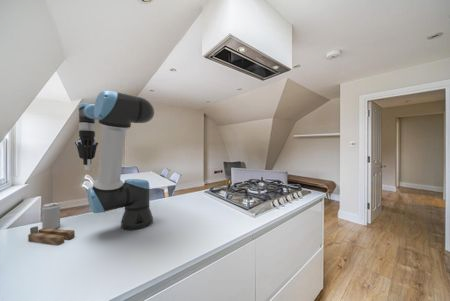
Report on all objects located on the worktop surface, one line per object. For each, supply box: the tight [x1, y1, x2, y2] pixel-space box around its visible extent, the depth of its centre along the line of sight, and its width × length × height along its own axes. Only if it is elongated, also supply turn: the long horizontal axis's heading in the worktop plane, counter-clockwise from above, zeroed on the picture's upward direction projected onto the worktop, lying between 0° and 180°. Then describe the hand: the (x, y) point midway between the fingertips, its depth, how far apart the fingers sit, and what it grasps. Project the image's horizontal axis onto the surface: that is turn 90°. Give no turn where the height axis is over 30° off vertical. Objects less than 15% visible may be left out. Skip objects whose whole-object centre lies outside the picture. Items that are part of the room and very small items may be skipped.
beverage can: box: [41, 202, 61, 229], centre depth 89 cm, size 6×6×12 cm
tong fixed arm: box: [27, 225, 65, 246], centre depth 77 cm, size 19×4×4 cm, turn 79°
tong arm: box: [38, 228, 76, 240], centre depth 80 cm, size 16×2×3 cm, turn 82°
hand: (87, 170), depth 107 cm, fingers closed
